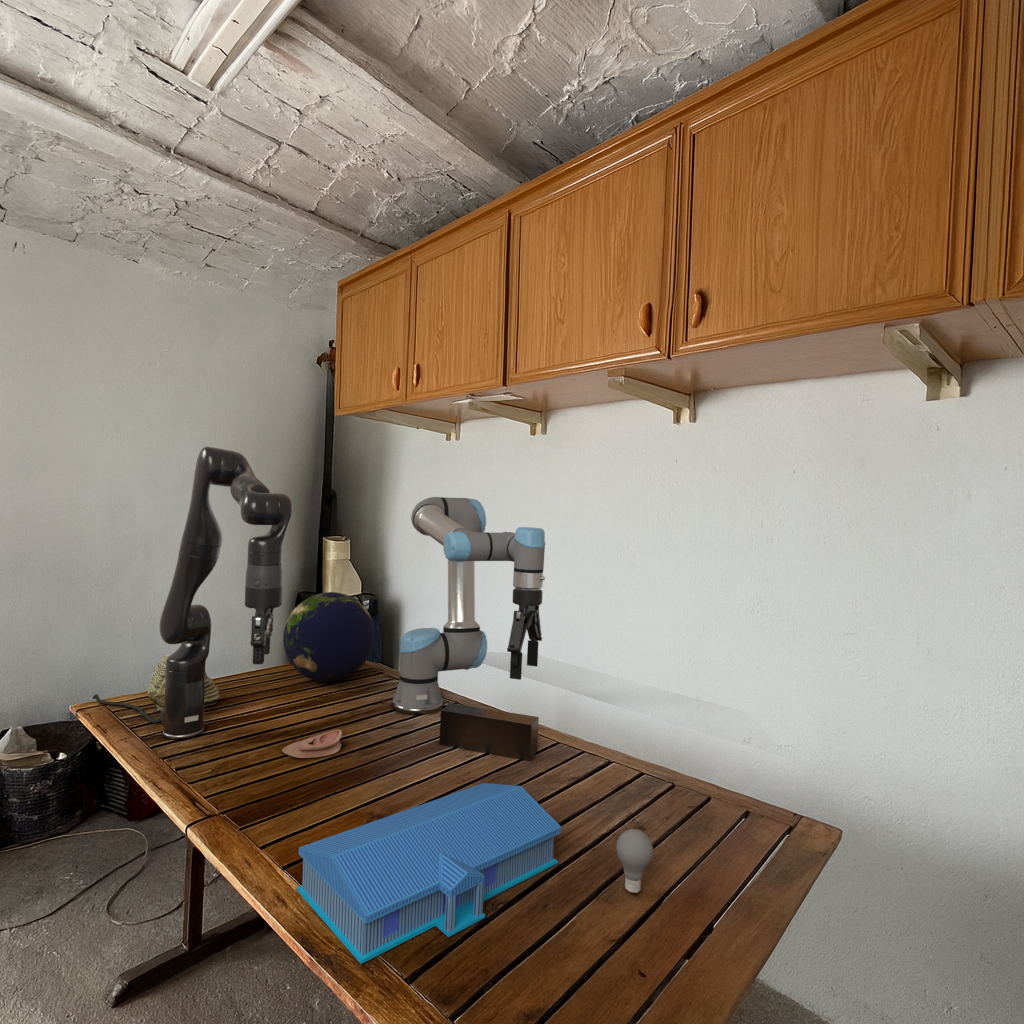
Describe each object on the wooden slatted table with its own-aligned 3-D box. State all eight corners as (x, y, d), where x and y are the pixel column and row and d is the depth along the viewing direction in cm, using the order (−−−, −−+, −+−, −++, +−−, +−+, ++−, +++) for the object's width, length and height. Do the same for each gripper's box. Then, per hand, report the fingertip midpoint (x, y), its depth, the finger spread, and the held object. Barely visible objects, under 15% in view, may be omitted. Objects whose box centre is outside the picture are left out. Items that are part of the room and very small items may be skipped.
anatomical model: (275, 738, 153) (300, 722, 164) (275, 755, 153) (300, 738, 164) (326, 745, 150) (348, 728, 162) (325, 762, 151) (347, 744, 162)
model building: (372, 977, 84) (375, 903, 84) (295, 888, 102) (297, 827, 102) (571, 871, 110) (574, 814, 110) (482, 815, 129) (484, 766, 128)
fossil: (144, 707, 182) (145, 655, 182) (212, 696, 194) (213, 647, 194) (151, 716, 175) (153, 662, 175) (221, 703, 188) (223, 653, 188)
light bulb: (610, 879, 108) (613, 822, 108) (644, 879, 109) (647, 822, 109) (619, 902, 102) (622, 840, 102) (655, 901, 103) (658, 840, 103)
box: (439, 744, 165) (440, 709, 165) (449, 736, 171) (450, 702, 171) (530, 761, 157) (531, 724, 157) (537, 752, 163) (538, 716, 163)
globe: (261, 684, 208) (265, 593, 208) (321, 664, 236) (324, 584, 236) (336, 698, 197) (339, 602, 197) (389, 675, 225) (393, 591, 224)
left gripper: (278, 589, 131) (275, 667, 132) (286, 580, 145) (283, 650, 146) (239, 589, 130) (236, 668, 130) (251, 580, 144) (248, 651, 144)
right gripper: (526, 596, 147) (522, 686, 147) (555, 584, 171) (551, 662, 171) (496, 593, 150) (492, 682, 150) (528, 581, 173) (525, 659, 174)
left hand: (261, 658), depth 138 cm, fingers open, 8 cm apart
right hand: (524, 672), depth 160 cm, fingers open, 13 cm apart
